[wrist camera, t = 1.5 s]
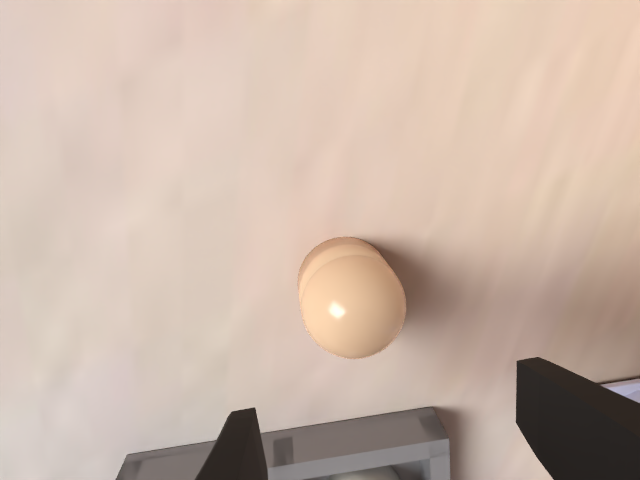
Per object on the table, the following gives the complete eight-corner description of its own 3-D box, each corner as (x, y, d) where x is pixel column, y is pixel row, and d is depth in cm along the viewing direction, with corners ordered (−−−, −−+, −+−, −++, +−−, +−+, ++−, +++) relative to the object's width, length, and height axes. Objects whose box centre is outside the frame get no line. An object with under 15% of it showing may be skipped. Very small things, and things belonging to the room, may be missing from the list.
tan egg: (384, 231, 20) (418, 265, 15) (390, 315, 21) (423, 371, 17) (292, 243, 20) (296, 282, 15) (303, 327, 21) (310, 389, 16)
